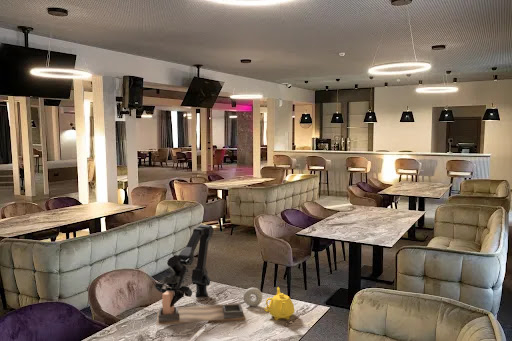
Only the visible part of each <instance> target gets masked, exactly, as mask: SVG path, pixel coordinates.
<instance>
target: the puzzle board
mask: <svg viewBox="0 0 512 341" xmlns="http://www.w3.org/2000/svg"><path fill="white" fill-rule="evenodd" d="M206 321H207V322H206ZM193 322H194V323H195V322H196V323H197V322H205V324H209V325H210V324H219V323H233V322H234V323H235V322H246V317H245V314H244V311H243V307H242V304H241V303H228V304H227V303H226V304H214V305H200V306H199V305H198V306H197V305H196V306H185V307H183V306H181V307H179V306H174V314H164V315H163V307H159V308H158V310H157V317H156V322H155V323H156V324H155V325H157V326H158V325H167V324H170V325H171V324H181V323H184V324H185V323H193Z"/></svg>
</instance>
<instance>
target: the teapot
mask: <svg viewBox="0 0 512 341" xmlns="http://www.w3.org/2000/svg"><path fill="white" fill-rule="evenodd" d="M280 289H281V288H280V287H279V286H277V287H276V294H275V295H273V296H272V297H268V298H267V299H265V305H266V306H265V307H264V312H267V313H269V314H270V315H271V316H272V317H273V319H274V320H275V321H278V320H279V319H285V320H291V317H292V315H293V314H294V313H295V305H294V303H293V301H292V299H291V297H290V296H288V294H285V293H283V292H281V290H280ZM269 301H270V302H269ZM268 302H269V303H268Z"/></svg>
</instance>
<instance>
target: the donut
mask: <svg viewBox="0 0 512 341" xmlns="http://www.w3.org/2000/svg"><path fill="white" fill-rule="evenodd" d="M251 295H254V296H255V298H254V299H252V298H251ZM242 298H243V301H244V303H245V304H246V305H247V306H250V307H256V306H259V305H260V304H261V303H262V301H263V293H262V291H261V290H260V289H259V288H257V287H249V288H247V289H245V291H244V293H243V297H242Z"/></svg>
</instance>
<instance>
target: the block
mask: <svg viewBox="0 0 512 341" xmlns="http://www.w3.org/2000/svg"><path fill="white" fill-rule="evenodd" d="M174 292H175V291H166V292H165V293H163V294H162V298H161V299H162V302H163V305H162V308H163V315H164V314H174V307H175V304H174V305H173V306H172V307H170V305H171V302H172V299H173V297H174Z"/></svg>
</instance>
